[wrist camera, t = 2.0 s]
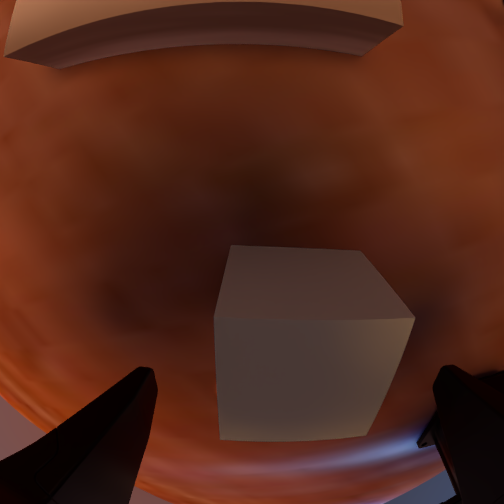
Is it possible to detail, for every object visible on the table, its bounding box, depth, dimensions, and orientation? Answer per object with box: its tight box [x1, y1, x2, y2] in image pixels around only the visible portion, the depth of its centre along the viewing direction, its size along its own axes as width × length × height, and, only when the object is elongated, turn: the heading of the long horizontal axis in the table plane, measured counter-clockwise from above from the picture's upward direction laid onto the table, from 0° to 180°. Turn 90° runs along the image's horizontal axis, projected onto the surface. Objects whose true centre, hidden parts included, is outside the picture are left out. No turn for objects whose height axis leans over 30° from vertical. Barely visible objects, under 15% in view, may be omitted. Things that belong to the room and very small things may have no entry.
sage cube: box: [214, 245, 415, 442], centre depth 10 cm, size 5×5×5 cm
